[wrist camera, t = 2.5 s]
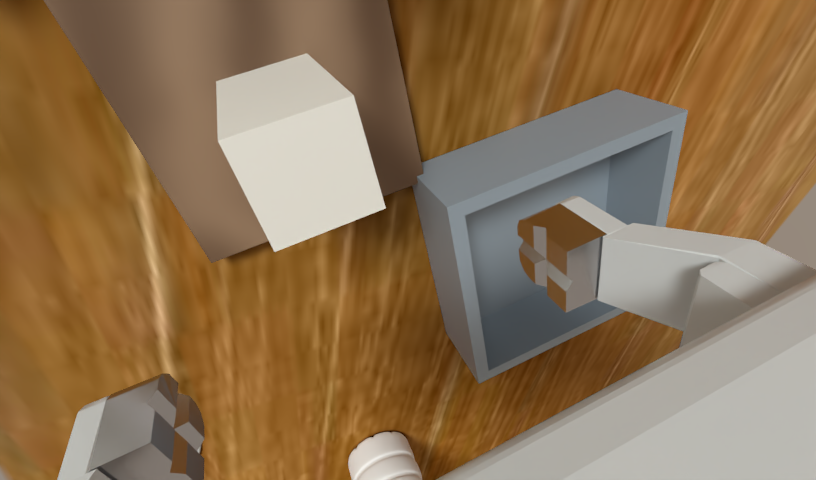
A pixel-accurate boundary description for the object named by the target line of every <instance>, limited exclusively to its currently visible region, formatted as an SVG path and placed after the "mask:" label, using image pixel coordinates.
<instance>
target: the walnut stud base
mask: <svg viewBox="0 0 816 480" xmlns="http://www.w3.org/2000/svg"><path fill="white" fill-rule="evenodd" d="M44 2H45V3H46V5H47V6H48V8H49V9H50V11H51V12H52V14H53V16H54V17H55V19H56V20H57V22H58V23H59V25H60V27H61V28H62V30H63V31H64V33H65V34H66V36H67V38H68V39H69V41H70V42H71V44H72V45H73V47H74V48H75V50H76V52H77V53H78V55H79V56H80V58H81V59H82V61H83V63H84V64H85V66H86V67H87V69H88V70H89V72H90V74H91V75H92V77H93V78H94V80H95V81H96V83H97V84H98V86H99V88H100V89H101V91H102V92H103V94H104V95H105V97H106V99H107V100H108V102H109V103H110V105H111V106H112V108H113V110H114V111H115V113H116V114H117V116H118V117H119V119H120V120H121V122H122V124H123V125H124V127H125V128H126V130H127V131H128V133H129V135H130V136H131V138H132V139H133V141H134V142H135V144H136V146H137V147H138V149H139V150H140V152H141V153H142V155H143V156H144V158H145V160H146V161H147V163H148V164H149V166H150V167H151V169H152V171H153V172H154V174H155V175H156V177H157V178H158V180H159V182H160V183H161V185H162V186H163V188H164V189H165V191H166V192H167V194H168V196H169V197H170V199H171V200H172V202H173V203H174V205H175V207H176V208H177V210H178V211H179V213H180V214H181V216H182V218H183V219H184V221H185V222H186V224H187V225H188V227H189V228H190V230H191V232H192V233H193V235H194V236H195V238H196V239H197V241H198V243H199V244H200V246H201V247H202V249H203V250H204V252H205V254H206V255H207V257H208V258H209V260H210V261H211V263H213V262H215V261H218V260H220V259H223V258H226V257H228V256H231V255H233V254H236V253H239V252H241V251H244V250H246V249H249V248H252V247H254V246H257V245H259V244H262V243H265V242H267V241H269V240H268V238H267V236H266V234H265V232H264V230H263V228H262V227H261V225H260V223H259V221H258V219H257V217H256V215H255V213H254V211H253V209H252V207H251V205H250V203H249V201H248V199H247V197H246V195H245V193H244V191H243V189H242V187H241V185H240V183H239V182H238V180H237V178H236V176H235V174H234V172H233V170H232V168H231V166H230V164H229V162H228V160H227V158H226V156H225V154H224V152H223V150H222V148H221V146H220V144H219V142H218V134H217V95H216V81H219V80H222V79H225V78H229V77H232V76H235V75H238V74H242V73H245V72H248V71H251V70H254V69H258V68H261V67H264V66H267V65H271V64H274V63H277V62H280V61H284V60H287V59H290V58H293V57H296V56H300V55H303V54H306V53H307V54H308V55H310V56H311V57H312V58H313V59H314V60H315V61H316V62H317V63H318V64H320V65H321V66H322V67H323V68H324V69H325V70H326V71H327V72H328V73H330V74H331V75H332V76H333V77H334V78H335V79H336V80H337V81H338V82H340V83H341V84H342V85H343V86H344V87H345V88H346V89H347V90H348V91H350V92H351V93H352V94H353V95H354V98H355V102H356V105H357V109H358V112H359V116H360V119H361V123H362V126H363V130H364V133H365V137H366V140H367V144H368V147H369V151H370V154H371V158H372V161H373V165H374V168H375V172H376V175H377V179H378V182H379V186H380V189H381V193H382V196H383V197H384V196H386V195H389V194H391V193H394V192H397V191H399V190H402V189H404V188H407V187H410V186H412V185H415V184H417V183H418V181H417V176H419V175H422V174H424V173H423V168H422V164H421V159H420V154H419V149H418V144H417V140H416V135H415V130H414V125H413V121H412V116H411V111H410V106H409V101H408V97H407V92H406V87H405V82H404V77H403V73H402V68H401V63H400V58H399V53H398V49H397V44H396V39H395V34H394V30H393V25H392V20H391V15H390V10H389V6H388V1H387V0H44Z"/></svg>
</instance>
